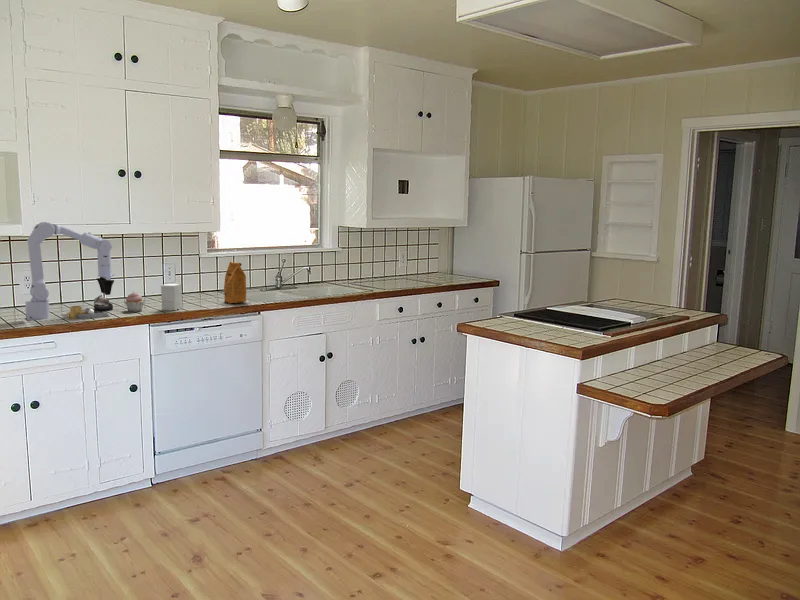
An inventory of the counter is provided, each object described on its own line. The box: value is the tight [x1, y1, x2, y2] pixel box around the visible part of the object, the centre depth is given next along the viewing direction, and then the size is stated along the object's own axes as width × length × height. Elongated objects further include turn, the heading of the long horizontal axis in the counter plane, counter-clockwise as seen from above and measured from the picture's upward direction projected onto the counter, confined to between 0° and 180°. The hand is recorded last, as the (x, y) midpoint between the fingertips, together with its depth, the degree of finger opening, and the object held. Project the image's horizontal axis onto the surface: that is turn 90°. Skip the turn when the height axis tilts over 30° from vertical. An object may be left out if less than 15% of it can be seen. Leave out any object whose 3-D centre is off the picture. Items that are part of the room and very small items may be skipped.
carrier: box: [61, 307, 111, 321], centre depth 314 cm, size 18×17×4 cm
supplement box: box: [160, 283, 183, 311], centre depth 340 cm, size 7×7×13 cm
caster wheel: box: [93, 294, 114, 312], centre depth 331 cm, size 7×11×10 cm
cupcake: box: [124, 290, 145, 313], centre depth 334 cm, size 9×9×10 cm
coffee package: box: [223, 260, 247, 304], centre depth 366 cm, size 10×12×22 cm
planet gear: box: [66, 305, 85, 318], centre depth 311 cm, size 7×7×4 cm
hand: (105, 293), depth 321 cm, fingers open, 7 cm apart
